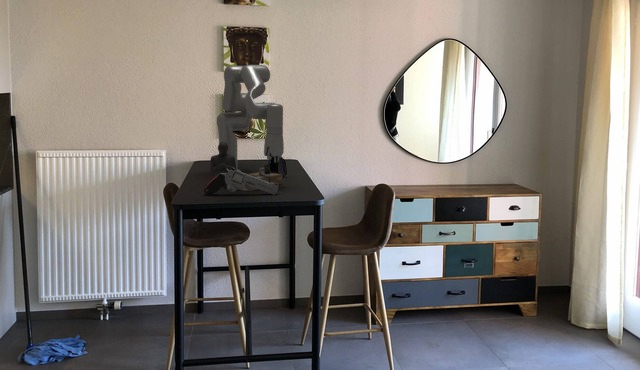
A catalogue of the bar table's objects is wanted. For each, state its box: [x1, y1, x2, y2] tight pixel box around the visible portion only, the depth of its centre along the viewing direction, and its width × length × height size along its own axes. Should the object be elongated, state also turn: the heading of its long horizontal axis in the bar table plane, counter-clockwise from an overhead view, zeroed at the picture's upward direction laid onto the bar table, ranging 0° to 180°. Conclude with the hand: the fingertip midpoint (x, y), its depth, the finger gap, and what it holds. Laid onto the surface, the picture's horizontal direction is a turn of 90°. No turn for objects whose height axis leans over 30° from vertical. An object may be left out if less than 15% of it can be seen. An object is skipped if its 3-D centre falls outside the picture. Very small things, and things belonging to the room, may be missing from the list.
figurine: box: [209, 142, 236, 178], centre depth 320 cm, size 12×8×20 cm, turn 92°
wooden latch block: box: [228, 171, 283, 192], centre depth 317 cm, size 14×26×5 cm, turn 149°
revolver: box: [203, 167, 280, 196], centre depth 294 cm, size 4×29×15 cm, turn 95°
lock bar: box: [258, 163, 270, 176], centre depth 318 cm, size 15×3×6 cm, turn 16°
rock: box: [267, 157, 288, 178], centre depth 345 cm, size 10×6×10 cm, turn 142°
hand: (274, 171), depth 315 cm, fingers closed
